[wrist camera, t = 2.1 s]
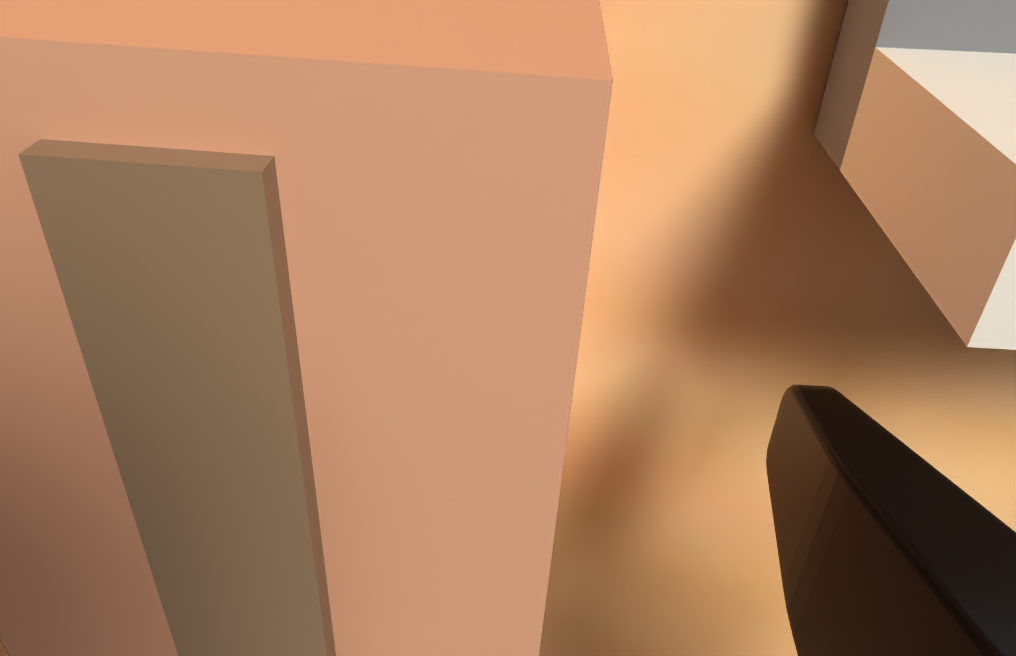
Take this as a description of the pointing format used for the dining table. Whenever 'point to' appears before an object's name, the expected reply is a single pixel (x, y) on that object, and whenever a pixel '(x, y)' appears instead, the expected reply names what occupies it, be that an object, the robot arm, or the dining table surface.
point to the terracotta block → (290, 320)
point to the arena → (934, 147)
